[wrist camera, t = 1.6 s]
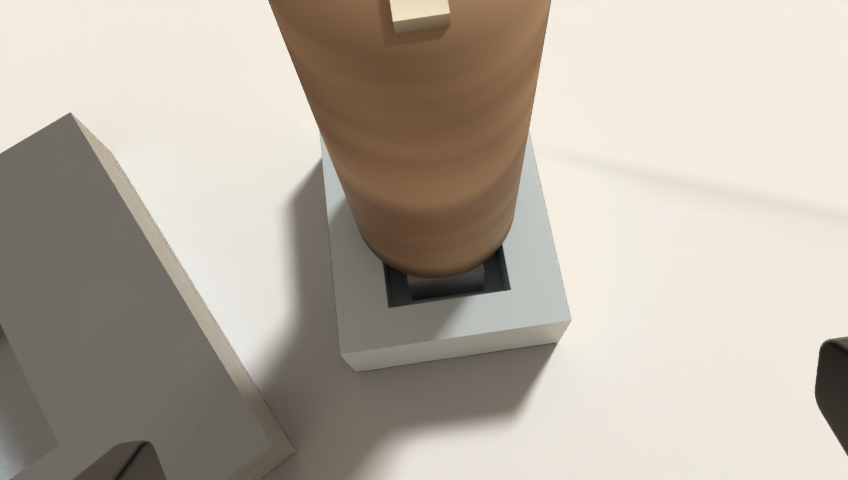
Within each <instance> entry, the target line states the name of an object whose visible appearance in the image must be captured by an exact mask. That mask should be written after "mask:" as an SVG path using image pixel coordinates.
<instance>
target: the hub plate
mask: <svg viewBox="0 0 848 480" xmlns="http://www.w3.org/2000/svg"><path fill="white" fill-rule="evenodd" d="M139 440H147V441H150V442H151V443H152V444H153V446H154V448H155V450H156V452H157V455H158V458H159V460H160V463H161V466H162V468H163V471H164V474H165V476H166V479H167V480H259V479H261V478H262V477H264V476H265V475H266V474H268V473H269V472H270V471H272V470H273V469H274V468H276V467H277V466H279V465H280V464H281V463H283V462H284V461H285V460H287V459H288V458H290V457H291V456H292V455H294V454H295V453H296V451H295V449H294V447H293V446H292V444H291V443H290V441H289V439H288V438H287V436H286V435H285V433H284V431H283V430H282V428H281V426H280V425H279V423H278V422H277V420H276V418H275V417H274V415H273V413H272V412H271V410H270V409H269V407H268V405H267V404H266V402H265V400H264V399H263V397H262V396H261V394H260V392H259V391H258V389H257V387H256V386H255V384H254V383H253V381H252V379H251V378H250V376H249V375H248V373H247V371H246V370H245V368H244V366H243V365H242V363H241V362H240V360H239V358H238V357H237V355H236V353H235V352H234V350H233V349H232V347H231V345H230V344H229V342H228V340H227V339H226V337H225V336H224V334H223V332H222V331H221V329H220V327H219V326H218V324H217V323H216V321H215V319H214V318H213V316H212V315H211V313H210V311H209V310H208V308H207V306H206V305H205V303H204V302H203V300H202V298H201V297H200V295H199V293H198V292H197V290H196V289H195V287H194V285H193V284H192V282H191V280H190V279H189V277H188V276H187V274H186V272H185V271H184V269H183V267H182V266H181V264H180V263H179V261H178V259H177V258H176V256H175V255H174V253H173V251H172V250H171V248H170V246H169V245H168V243H167V242H166V240H165V238H164V237H163V235H162V233H161V232H160V230H159V229H158V227H157V225H156V224H155V222H154V220H153V219H152V217H151V216H150V214H149V212H148V211H147V209H146V207H145V206H144V204H143V203H142V201H141V199H140V198H139V196H138V195H137V193H136V191H135V190H134V188H133V186H132V185H131V183H130V182H129V180H128V178H127V177H126V175H125V173H124V172H123V170H122V169H121V167H120V165H119V164H118V162H117V160H116V159H115V157H114V156H113V154H112V153H111V152H110V151H109V150H108V149H107V148H106V147H105V146H104V145H103V144H102V143H101V142H100V141H99V140H98V139H97V138H96V137H95V136H94V135H93V134H92V133H91V132H90V131H89V130H88V129H87V128H86V127H85V126H84V125H83V124H82V123H81V122H80V121H79V120H78V119H77V118H76V117H75V116H74V115H73V114H72V113H71V112H70V113H68V114H67V115H65V116H63V117H62V118H60V119H58V120H57V121H55V122H53V123H52V124H50V125H48V126H46V127H45V128H43V129H41V130H40V131H38V132H36V133H35V134H33V135H31V136H29V137H28V138H26V139H24V140H23V141H21V142H19V143H18V144H16V145H14V146H13V147H11V148H9V149H7V150H6V151H4V152H2V153H1V154H0V480H72V479H74V478H75V477H76V476H77V475H79V474H80V473H81V472H82V471H84V470H85V469H86V468H87V467H89V466H90V465H91V464H92V463H94V462H95V461H96V460H97V459H99V458H100V457H101V456H102V455H104V454H105V453H106V452H108V451H109V450H110V449H111V448H113V447H114V446H115V445H117V444H120V443H125V442H132V441H139Z"/></svg>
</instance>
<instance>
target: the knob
mask: <svg viewBox="0 0 848 480" xmlns="http://www.w3.org/2000/svg"><path fill="white" fill-rule="evenodd" d="M268 1H269V3H270V6H271V8H272V11H273V14H274V16H275V19H276V21H277V24H278V26H279V29H280V31H281V34H282V36H283V39H284V41H285V44H286V46H287V49H288V52H289V54H290V57H291V59H292V62H293V64H294V67H295V69H296V72H297V74H298V77H299V79H300V82H301V85H302V87H303V90H304V92H305V95H306V97H307V100H308V102H309V105H310V107H311V110H312V112H313V115H314V118H315V120H316V123H317V125H318V128H319V130H320V133H321V135H322V138H323V140H324V143H325V145H326V148H327V150H328V153H329V156H330V158H331V161H332V163H333V166H334V168H335V171H336V173H337V176H338V178H339V181H340V183H341V186H342V189H343V191H344V194H345V196H346V199H347V201H348V204H349V206H350V209H351V211H352V214H353V216H354V219H355V222H356V224H357V227H358V229H359V232H360V234H361V236H362V238H363V240H364V242H365V243H366V244H367V246H368V247H369V249H370V250H371V251H372V252H373V253H374V254H375V255H376V256H377V257H378V258H379V259H380V260H381V261H383V262H384V263H385V264H387V265H388V266H390V267H392V268H393V269H395V270H398V271H400V272H402V273H405V274H407V280H408V285H409V289H410V293H411V297H412V301H416V300H423V299H430V298H436V297H443V296H450V295H457V294H463V293H470V292H477V291H483V285H484V273H485V271H484V266H483V262H485V261H486V260H487V259H489V258H490V257H491V256H492V255H493V254H494V253H495V252H496V251H497V250H498V249H499V247H500V246H501V245H502V243H503V242H504V240H505V239H506V237H507V235H508V233H509V231H510V229H511V225H512V222H513V219H514V213H515V207H516V202H517V196H518V190H519V184H520V178H521V173H522V167H523V161H524V155H525V149H526V143H527V138H528V132H529V126H530V120H531V114H532V109H533V103H534V97H535V91H536V85H537V79H538V74H539V68H540V62H541V56H542V50H543V45H544V39H545V33H546V27H547V21H548V16H549V10H550V4H551V0H268Z"/></svg>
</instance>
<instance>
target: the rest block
mask: <svg viewBox="0 0 848 480" xmlns="http://www.w3.org/2000/svg"><path fill="white" fill-rule="evenodd" d="M320 141H321V152H322V163H323V174H324V185H325V196H326V207H327V218H328V229H329V240H330V251H331V262H332V273H333V284H334V295H335V306H336V316H337V327H338V338H339V349H340V355H341V356H342V357H343V359H344V360H345V361H346V362H347V363H348V364H349V365H350V367H351V368H352V369H353V370H354V371H355V372H360V371H367V370H373V369H380V368H387V367H394V366H400V365H407V364H414V363H421V362H428V361H434V360H441V359H448V358H455V357H461V356H468V355H475V354H482V353H488V352H495V351H502V350H509V349H515V348H522V347H529V346H536V345H542V344H549V343H556V342H559V340H560V339H561V337H562V335H563V334H564V332H565V330H566V329H567V327H568V325H569V323H570V322H571V316H570V311H569V307H568V302H567V298H566V293H565V289H564V285H563V280H562V276H561V271H560V267H559V262H558V258H557V253H556V249H555V244H554V240H553V235H552V231H551V226H550V222H549V218H548V213H547V209H546V204H545V200H544V195H543V191H542V186H541V182H540V177H539V173H538V168H537V164H536V159H535V155H534V150H533V146H532V142H531V137H530V133H529V132H528V138H527V143H526V149H525V155H524V161H523V167H522V173H521V178H520V184H519V190H518V196H517V202H516V207H515V213H514V219H513V222H512V225H511V229H510V231H509V233H508V235H507V237H506V239H505V240H504V242H503V243H502V245H501V246H500V247H499V249H498V250H497V251H496V252H495V253H494V254H493V255H492V256H491V257H490V258H489V259H487V260H486V261H485V262H483V266H484V271H485V273H484V285H483V291H477V292H470V293H463V294H457V295H450V296H443V297H436V298H430V299H423V300H416V301H412V297H411V293H410V289H409V285H408V280H407V274H405V273H402V272H400V271H398V270H395V269H393V268H392V267H390V266H388V265H387V264H385V263H384V262H383V261H381V260H380V259H379V258H378V257H377V256H376V255H375V254H374V253H373V252H372V251H371V250H370V249H369V247H368V246H367V244H366V243H365V242H364V240H363V238H362V236H361V234H360V232H359V229H358V227H357V224H356V222H355V219H354V216H353V214H352V211H351V209H350V206H349V204H348V201H347V199H346V196H345V194H344V191H343V189H342V186H341V183H340V181H339V178H338V176H337V173H336V171H335V168H334V166H333V163H332V161H331V158H330V156H329V153H328V150H327V148H326V145H325V143H324V140H323V138H322V135H321V133H320Z"/></svg>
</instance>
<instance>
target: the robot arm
mask: <svg viewBox="0 0 848 480" xmlns="http://www.w3.org/2000/svg"><path fill="white" fill-rule="evenodd" d="M815 398H816V402H817V405H818V407H819V409H820V411H821V413H822V414H823V416H824V418H825V419H826V421H827V423H828V424H829V426H830V428H831V429H832V431H833V433H834V434H835V436H836V437H837V439H838V441H839V442H840V444H841V446H842V447H843V449H844V451H845V452H846V454H847V456H848V337H841V338H834V339H828V340H826V341H825V342H823V343H822V345H821V347H820V351H819V359H818V367H817V375H816V384H815ZM72 480H167V479H166V476H165V474H164V471H163V468H162V466H161V463H160V460H159V458H158V455H157V452H156V450H155V448H154V446H153V444H152V443H151V442H150V441H147V440H139V441H132V442H125V443H120V444H117V445H115V446H114V447H113V448H111V449H110V450H109V451H108V452H106V453H105V454H104V455H102V456H101V457H100V458H99V459H97V460H96V461H95V462H94V463H92V464H91V465H90V466H89V467H87V468H86V469H85V470H84V471H82V472H81V473H80V474H79V475H77V476H76V477H75V478H74V479H72Z"/></svg>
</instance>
